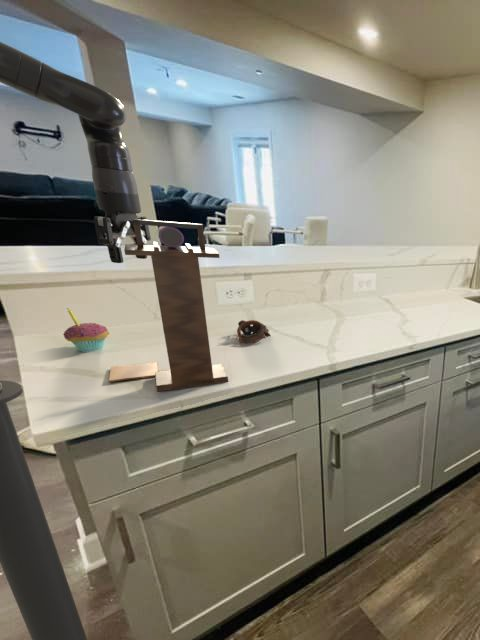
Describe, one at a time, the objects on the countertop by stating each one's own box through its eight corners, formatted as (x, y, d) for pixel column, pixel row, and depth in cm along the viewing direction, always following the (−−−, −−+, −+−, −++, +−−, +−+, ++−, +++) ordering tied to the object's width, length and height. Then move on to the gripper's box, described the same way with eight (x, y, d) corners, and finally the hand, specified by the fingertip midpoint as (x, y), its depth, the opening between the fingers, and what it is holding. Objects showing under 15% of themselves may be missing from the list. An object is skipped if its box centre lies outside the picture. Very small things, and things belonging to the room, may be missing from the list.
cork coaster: (109, 382, 90) (108, 380, 90) (111, 368, 96) (110, 366, 96) (158, 376, 96) (158, 374, 95) (157, 363, 102) (157, 362, 102)
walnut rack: (151, 392, 88) (118, 220, 75) (150, 377, 94) (120, 216, 81) (232, 381, 98) (216, 227, 85) (227, 368, 104) (211, 223, 91)
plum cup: (158, 243, 93) (155, 223, 91) (181, 244, 95) (178, 225, 94) (160, 246, 84) (156, 225, 83) (185, 248, 87) (182, 227, 85)
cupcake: (73, 357, 99) (58, 313, 95) (65, 347, 104) (51, 304, 99) (116, 349, 106) (104, 308, 101) (108, 340, 110) (96, 300, 106)
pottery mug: (280, 341, 128) (272, 325, 121) (256, 360, 123) (247, 344, 116) (254, 324, 130) (245, 308, 124) (230, 342, 125) (219, 326, 118)
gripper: (120, 189, 96) (133, 255, 101) (72, 186, 83) (89, 262, 88) (154, 193, 97) (164, 258, 103) (112, 191, 84) (126, 266, 89)
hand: (130, 260), depth 95 cm, fingers open, 8 cm apart
